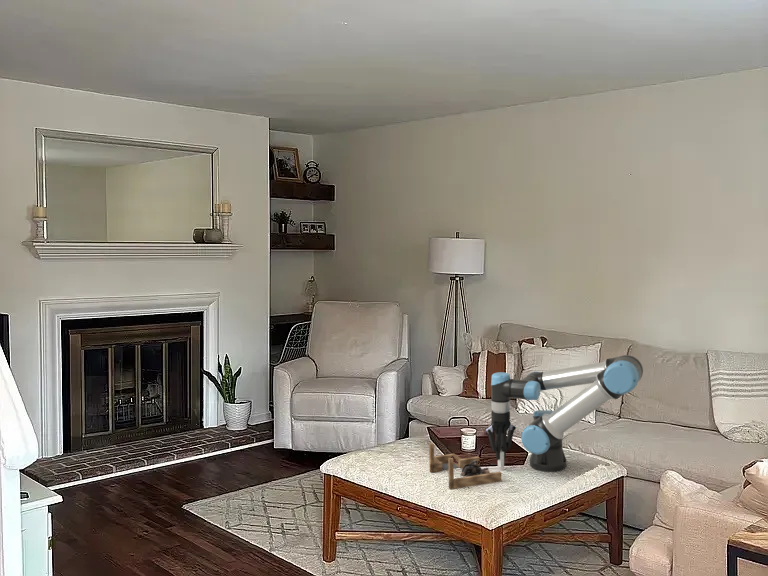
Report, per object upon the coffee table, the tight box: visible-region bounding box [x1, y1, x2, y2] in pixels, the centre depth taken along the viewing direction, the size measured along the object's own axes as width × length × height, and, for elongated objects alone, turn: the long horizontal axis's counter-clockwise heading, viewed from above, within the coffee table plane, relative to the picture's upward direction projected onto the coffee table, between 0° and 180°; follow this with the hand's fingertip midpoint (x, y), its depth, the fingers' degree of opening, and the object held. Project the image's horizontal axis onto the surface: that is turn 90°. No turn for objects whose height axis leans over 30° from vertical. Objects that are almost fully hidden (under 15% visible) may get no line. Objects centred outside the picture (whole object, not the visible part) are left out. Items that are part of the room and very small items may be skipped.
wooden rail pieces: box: [428, 442, 502, 490], centre depth 315 cm, size 22×28×12 cm
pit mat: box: [442, 463, 459, 471], centre depth 324 cm, size 7×6×1 cm
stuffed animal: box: [459, 460, 491, 477], centre depth 314 cm, size 12×10×12 cm
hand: (500, 466), depth 317 cm, fingers closed
